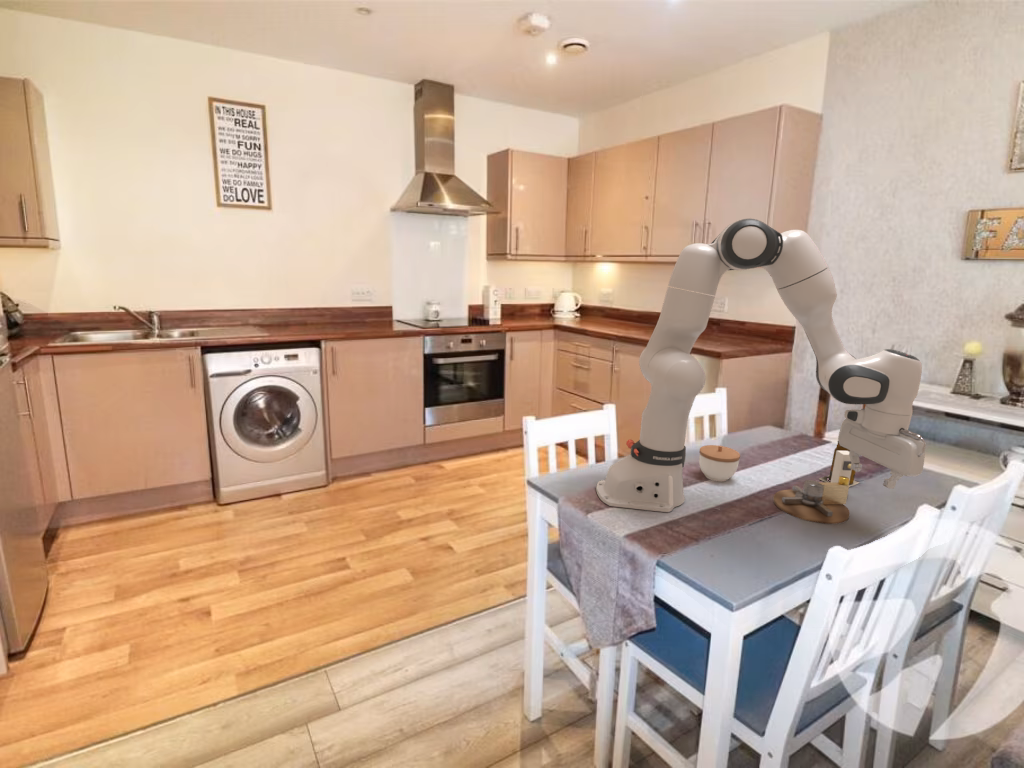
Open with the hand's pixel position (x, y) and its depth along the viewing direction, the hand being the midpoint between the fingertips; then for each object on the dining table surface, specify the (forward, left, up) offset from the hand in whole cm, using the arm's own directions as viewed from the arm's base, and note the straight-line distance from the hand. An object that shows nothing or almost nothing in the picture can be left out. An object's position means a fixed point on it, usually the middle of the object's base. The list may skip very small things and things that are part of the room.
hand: (871, 478), depth 127 cm
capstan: (-7, +9, -11) cm, 16 cm away
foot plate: (-7, +9, -12) cm, 17 cm away
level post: (+5, +17, -12) cm, 22 cm away
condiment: (+11, +26, -12) cm, 31 cm away
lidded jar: (-24, +27, -12) cm, 38 cm away
